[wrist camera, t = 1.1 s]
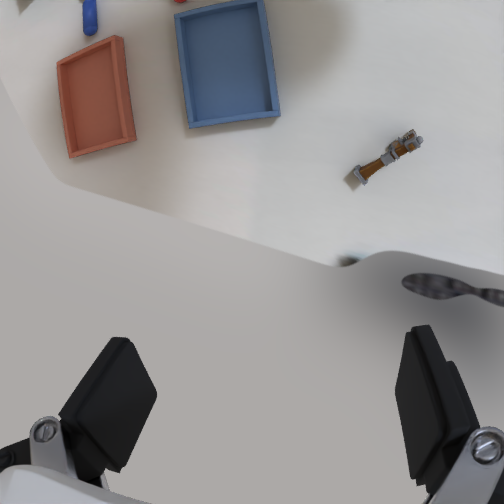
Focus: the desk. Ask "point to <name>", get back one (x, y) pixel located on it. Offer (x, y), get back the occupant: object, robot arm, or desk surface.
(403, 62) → the desk surface
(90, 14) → the blue spoon
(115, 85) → the terracotta tray
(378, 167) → the wooden post with brackets
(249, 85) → the blue-grey tray
